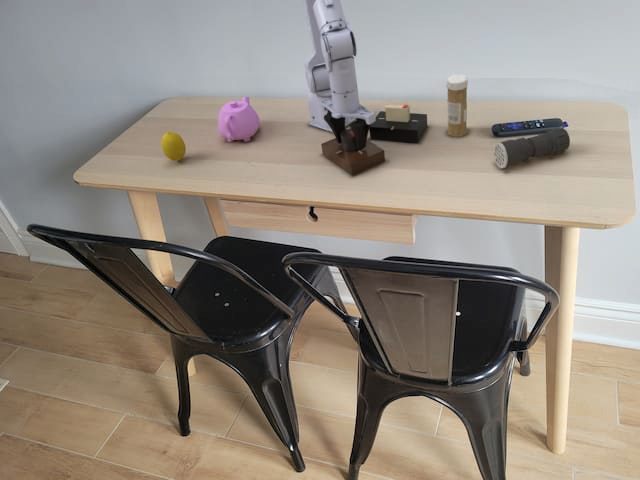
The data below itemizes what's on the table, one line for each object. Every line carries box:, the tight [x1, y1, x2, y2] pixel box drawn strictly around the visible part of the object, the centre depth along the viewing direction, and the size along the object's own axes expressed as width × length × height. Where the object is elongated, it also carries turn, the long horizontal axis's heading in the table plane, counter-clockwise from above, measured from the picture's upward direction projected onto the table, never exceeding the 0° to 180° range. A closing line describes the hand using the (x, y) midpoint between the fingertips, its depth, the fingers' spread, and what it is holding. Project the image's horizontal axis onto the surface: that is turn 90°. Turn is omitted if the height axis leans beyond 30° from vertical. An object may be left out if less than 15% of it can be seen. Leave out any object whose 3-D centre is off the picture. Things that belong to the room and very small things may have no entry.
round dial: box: [340, 127, 358, 151], centre depth 130 cm, size 4×4×4 cm
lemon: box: [160, 131, 187, 162], centre depth 141 cm, size 6×6×8 cm
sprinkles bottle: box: [446, 74, 469, 138], centre depth 132 cm, size 5×5×14 cm
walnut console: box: [320, 137, 386, 177], centre depth 132 cm, size 13×9×3 cm
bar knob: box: [384, 104, 411, 122], centre depth 136 cm, size 6×2×4 cm, turn 67°
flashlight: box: [493, 127, 571, 169], centre depth 122 cm, size 15×5×5 cm, turn 105°
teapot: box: [217, 96, 261, 143], centre depth 147 cm, size 10×15×9 cm
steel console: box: [369, 110, 429, 145], centre depth 138 cm, size 12×10×4 cm
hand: (351, 144), depth 131 cm, fingers open, 6 cm apart
